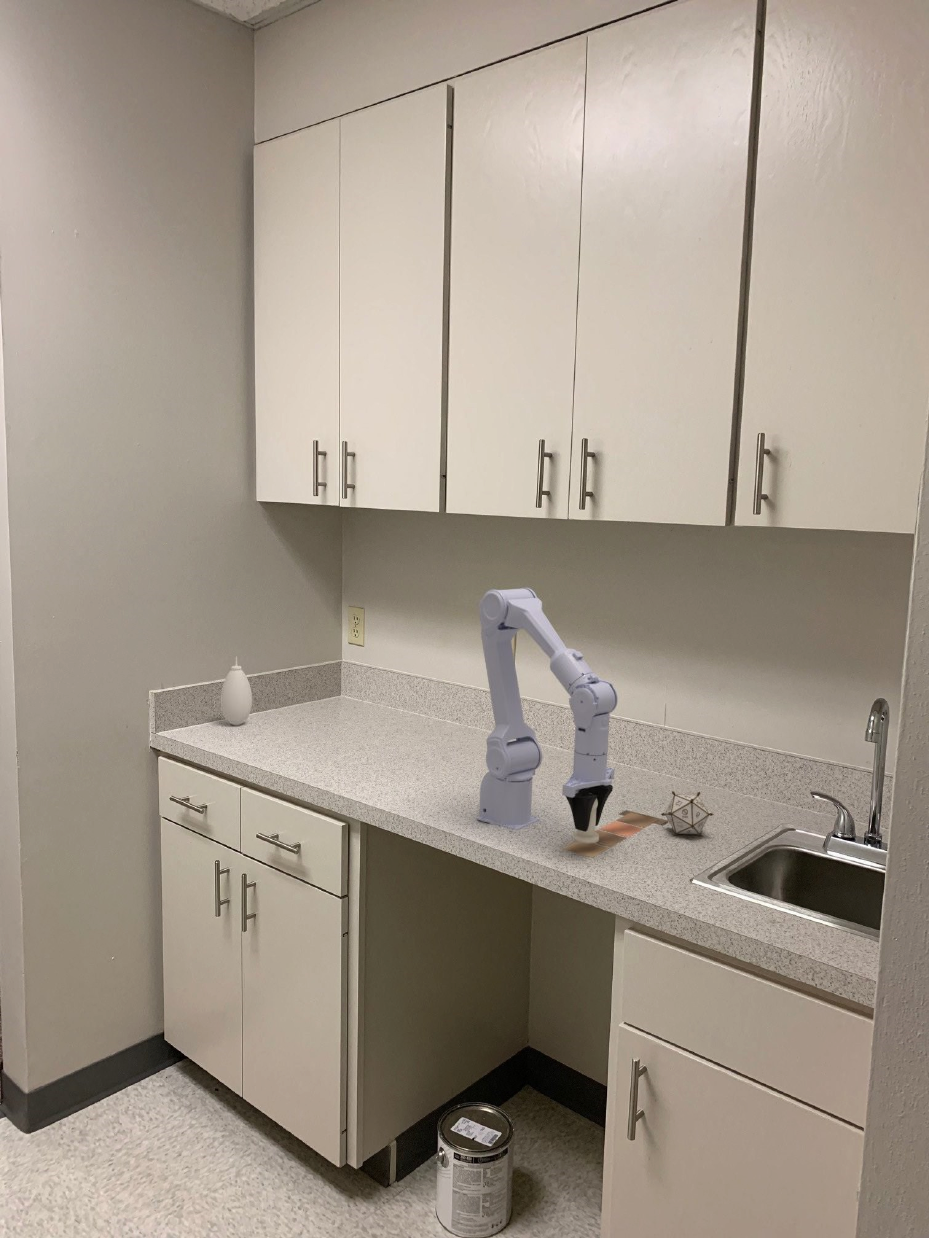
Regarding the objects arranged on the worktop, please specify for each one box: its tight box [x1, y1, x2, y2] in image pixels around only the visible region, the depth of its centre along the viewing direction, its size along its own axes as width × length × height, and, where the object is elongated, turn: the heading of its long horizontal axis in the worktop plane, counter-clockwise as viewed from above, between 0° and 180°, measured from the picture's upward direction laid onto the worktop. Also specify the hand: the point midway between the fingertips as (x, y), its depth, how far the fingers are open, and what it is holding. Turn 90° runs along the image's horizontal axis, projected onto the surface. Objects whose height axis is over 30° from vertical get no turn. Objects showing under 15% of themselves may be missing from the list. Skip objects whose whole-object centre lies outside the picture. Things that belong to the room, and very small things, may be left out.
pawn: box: [572, 793, 599, 844], centre depth 164 cm, size 4×4×8 cm
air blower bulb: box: [220, 656, 253, 726], centre depth 243 cm, size 8×8×18 cm
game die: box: [660, 790, 714, 837], centre depth 173 cm, size 9×8×10 cm
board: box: [562, 809, 669, 859], centre depth 172 cm, size 9×28×1 cm, turn 143°
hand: (586, 826), depth 164 cm, fingers closed on pawn, 3 cm apart
